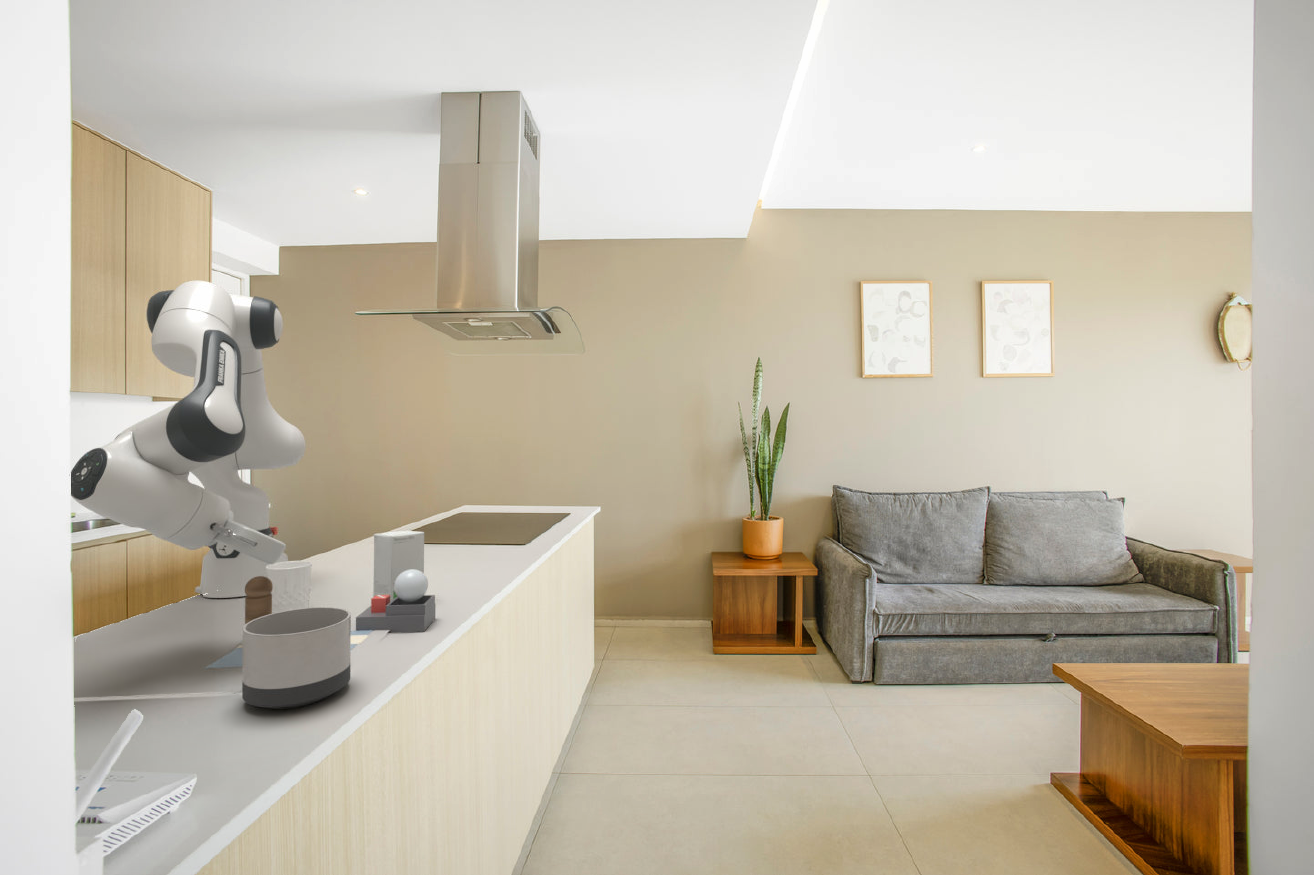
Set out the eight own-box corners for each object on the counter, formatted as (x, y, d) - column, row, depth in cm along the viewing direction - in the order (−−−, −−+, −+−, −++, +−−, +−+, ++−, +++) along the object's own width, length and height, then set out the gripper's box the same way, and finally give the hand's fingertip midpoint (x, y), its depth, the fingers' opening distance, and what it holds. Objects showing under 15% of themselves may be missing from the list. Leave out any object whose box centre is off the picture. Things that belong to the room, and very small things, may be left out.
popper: (371, 620, 116) (371, 591, 116) (435, 618, 118) (435, 589, 118) (355, 633, 108) (356, 602, 108) (424, 631, 110) (424, 600, 110)
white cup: (320, 609, 124) (320, 561, 124) (293, 620, 116) (293, 569, 116) (284, 607, 124) (285, 560, 124) (255, 619, 117) (256, 568, 117)
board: (260, 636, 106) (260, 633, 106) (374, 633, 109) (374, 629, 109) (202, 672, 90) (202, 667, 90) (338, 667, 93) (338, 663, 93)
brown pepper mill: (251, 638, 104) (252, 573, 104) (278, 637, 104) (279, 573, 104) (237, 647, 99) (237, 579, 99) (265, 646, 100) (265, 579, 100)
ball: (399, 597, 116) (399, 566, 116) (431, 596, 117) (431, 566, 117) (389, 606, 110) (389, 573, 110) (423, 605, 111) (423, 572, 111)
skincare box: (390, 613, 121) (390, 536, 121) (370, 608, 125) (371, 533, 125) (425, 603, 128) (426, 531, 128) (406, 599, 132) (406, 528, 132)
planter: (363, 696, 83) (363, 620, 83) (253, 727, 74) (253, 642, 74) (334, 670, 92) (335, 602, 92) (233, 694, 83) (234, 619, 83)
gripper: (245, 515, 88) (320, 549, 99) (181, 489, 98) (255, 523, 109) (217, 554, 86) (297, 585, 96) (154, 523, 96) (233, 554, 106)
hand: (274, 552), depth 103 cm, fingers closed
